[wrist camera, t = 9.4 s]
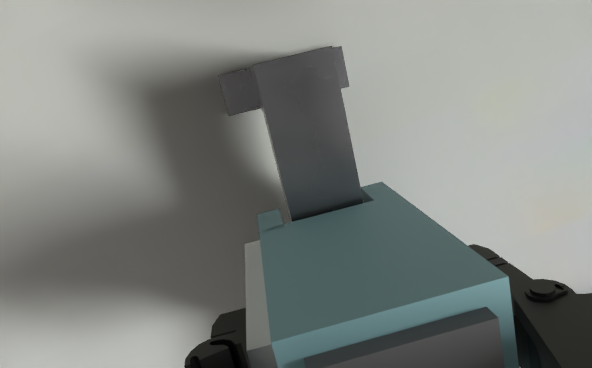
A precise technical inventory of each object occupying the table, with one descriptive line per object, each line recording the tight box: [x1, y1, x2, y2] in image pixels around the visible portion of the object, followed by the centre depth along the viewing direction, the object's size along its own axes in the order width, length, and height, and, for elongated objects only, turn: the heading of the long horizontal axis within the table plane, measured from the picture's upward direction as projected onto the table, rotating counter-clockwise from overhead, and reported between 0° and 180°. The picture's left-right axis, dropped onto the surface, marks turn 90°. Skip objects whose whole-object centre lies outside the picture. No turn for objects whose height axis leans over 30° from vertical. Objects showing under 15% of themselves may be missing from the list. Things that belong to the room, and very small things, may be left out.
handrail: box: [218, 46, 363, 222], centre depth 18 cm, size 20×5×5 cm, turn 13°
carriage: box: [257, 182, 519, 368], centre depth 12 cm, size 5×5×8 cm
